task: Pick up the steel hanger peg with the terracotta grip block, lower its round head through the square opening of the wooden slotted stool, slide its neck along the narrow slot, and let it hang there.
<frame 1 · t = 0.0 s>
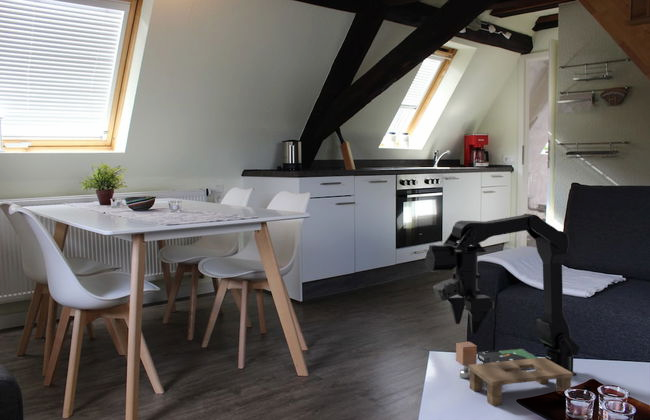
hand: (465, 328, 153), 15 cm above the table, fingers open, 9 cm apart
disk drive: (508, 365, 170), on the table
wooden slotted stool: (519, 391, 148), on the table
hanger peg: (466, 376, 159), on the table
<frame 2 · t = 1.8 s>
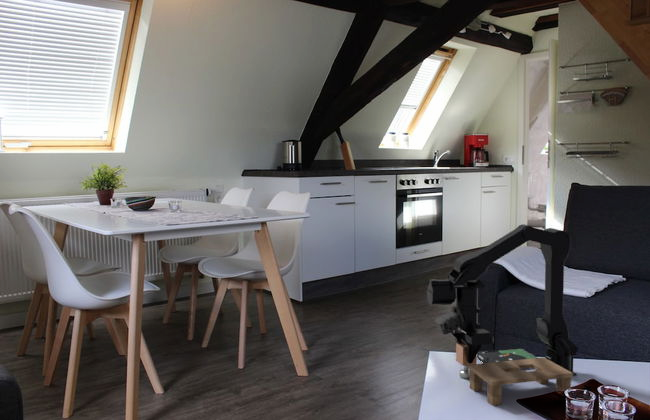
hand: (466, 360, 158), 5 cm above the table, fingers closed on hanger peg, 4 cm apart
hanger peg: (466, 376, 159), on the table, touching gripper
everything else where it was.
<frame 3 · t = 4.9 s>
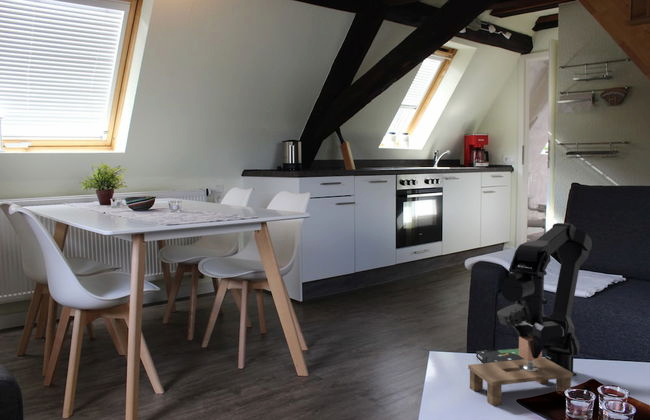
hand: (530, 355, 148), 9 cm above the table, fingers closed on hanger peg, 4 cm apart
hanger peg: (529, 372, 148), point 5 cm above the table, touching gripper
everything else where it was.
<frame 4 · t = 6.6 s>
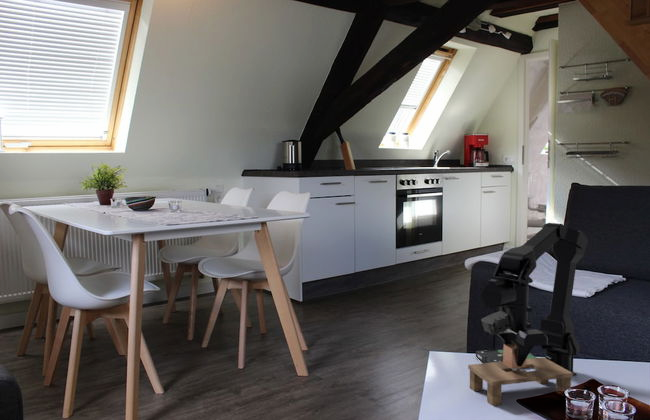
hand: (514, 363, 147), 8 cm above the table, fingers closed on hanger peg, 4 cm apart
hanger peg: (514, 380, 147), point 3 cm above the table, touching gripper
everything else where it was.
when the fingers open (7 cm above the table, at t = 8.0 s): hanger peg stays where it is, resting on wooden slotted stool.
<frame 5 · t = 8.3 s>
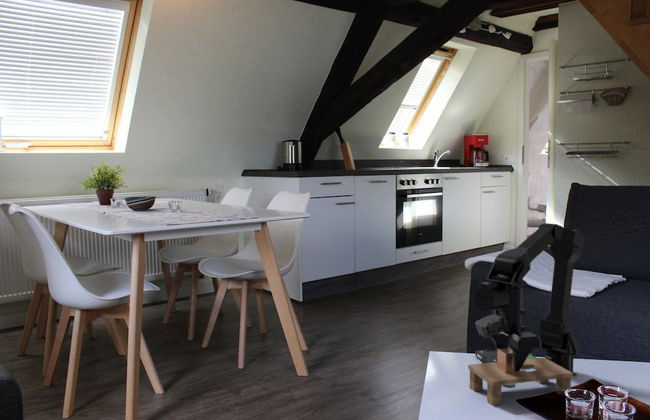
hand: (508, 366, 147), 7 cm above the table, fingers open, 7 cm apart
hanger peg: (508, 385, 147), point 2 cm above the table, touching wooden slotted stool
everything else where it was.
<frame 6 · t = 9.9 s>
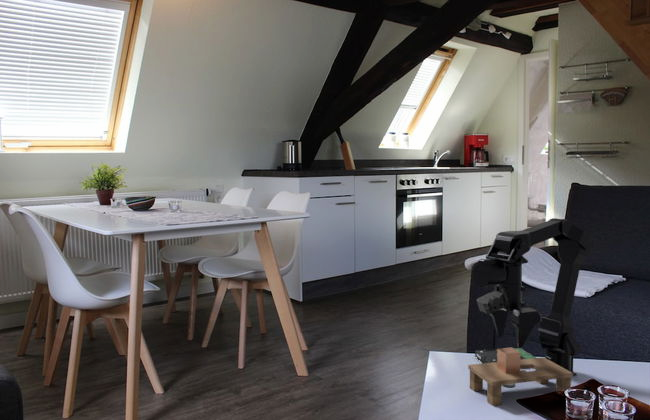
hand: (509, 341, 150), 12 cm above the table, fingers open, 9 cm apart
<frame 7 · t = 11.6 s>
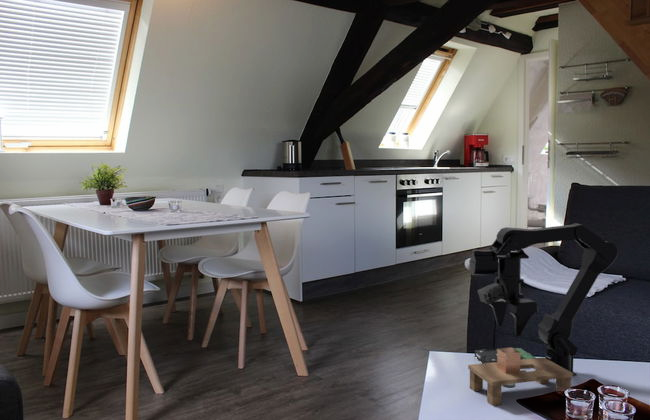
hand: (508, 331, 160), 12 cm above the table, fingers open, 9 cm apart
at the end: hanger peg 0.0 cm from the target spot on the wooden slotted stool, point 2.0 cm above the wooden slotted stool's base; the gripper is holding nothing; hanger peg tilted 0° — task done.
